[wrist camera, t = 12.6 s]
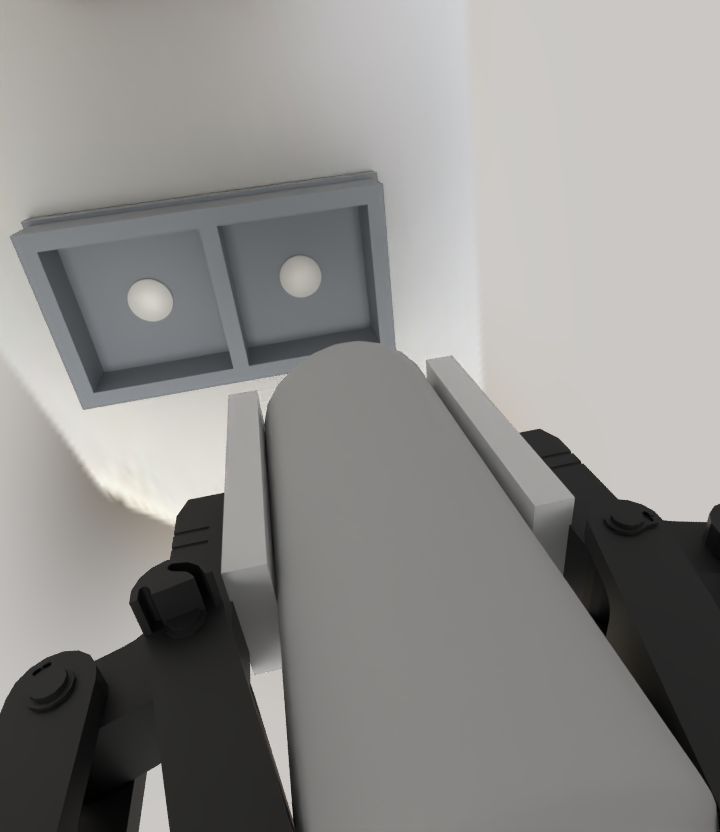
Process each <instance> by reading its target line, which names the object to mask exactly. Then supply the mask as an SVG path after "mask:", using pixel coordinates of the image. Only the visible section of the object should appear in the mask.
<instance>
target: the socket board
mask: <svg viewBox="0 0 720 832" xmlns="http://www.w3.org/2000/svg"><path fill="white" fill-rule="evenodd" d="M21 224H22V226H23V229H22V230H20V231H19V232H17V233H15V234H13V235H11V236H10V238H11V240H12V243H13V245H14V247H15V250H16V252H17V255H18V257H19V259H20V262H21V264H22V266H23V269H24V271H25V274H26V276H27V278H28V281H29V283H30V285H31V288H32V290H33V292H34V295H35V297H36V300H37V302H38V304H39V307H40V309H41V311H42V314H43V316H44V319H45V321H46V323H47V326H48V328H49V330H50V333H51V335H52V337H53V340H54V342H55V345H56V347H57V349H58V352H59V354H60V356H61V359H62V361H63V364H64V366H65V368H66V371H67V373H68V375H69V378H70V380H71V382H72V385H73V387H74V390H75V392H76V394H77V397H78V399H79V401H80V404H81V406H82V409H83V410H85V409H91V408H96V407H102V406H108V405H113V404H119V403H124V402H130V401H136V400H141V399H147V398H152V397H158V396H164V395H169V394H175V393H181V392H186V391H192V390H197V389H203V388H209V387H214V386H220V385H226V384H231V383H237V382H242V381H248V380H254V379H259V378H265V377H271V376H276V375H282V374H287V373H290V372H291V371H292V369H293V368H294V367H296V366H297V365H298V364H300V363H301V362H303V361H304V360H305V359H307V358H308V357H309V356H311V355H312V354H314V353H316V352H318V351H321V350H323V349H325V348H328V347H330V346H332V345H335V344H340V343H347V342H354V341H364V342H372V343H380V344H383V345H385V346H388V347H390V348H393V349H395V350H396V347H395V334H394V321H393V309H392V296H391V283H390V270H389V257H388V244H387V231H386V218H385V206H384V193H383V183H381V182H379V181H378V179H377V173H376V172H374V171H369V172H361V173H354V174H347V175H340V176H333V177H325V178H318V179H311V180H304V181H296V182H289V183H282V184H275V185H267V186H260V187H253V188H246V189H238V190H231V191H224V192H217V193H210V194H202V195H195V196H188V197H181V198H173V199H166V200H159V201H152V202H144V203H137V204H130V205H123V206H115V207H108V208H101V209H94V210H87V211H79V212H72V213H65V214H58V215H50V216H43V217H36V218H29V219H26V220H24V221H22V222H21Z"/></svg>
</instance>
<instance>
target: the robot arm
mask: <svg viewBox="0 0 720 832" xmlns="http://www.w3.org/2000/svg"><path fill="white" fill-rule="evenodd" d="M426 369H427V380H428V382H429V383H430V384H431V386H432V387H433V389H434V390H435V392H436V393H437V395H438V396H439V397H440V399H441V400H442V402H443V403H444V405H445V406H446V408H447V409H448V411H449V412H450V413H451V415H452V416H453V418H454V419H455V421H456V422H457V424H458V425H459V427H460V428H461V429H462V431H463V432H464V434H465V435H466V437H467V438H468V440H469V441H470V442H471V444H472V445H473V447H474V448H475V450H476V451H477V453H478V454H479V456H480V457H481V458H482V460H483V461H484V463H485V464H486V466H487V467H488V469H489V470H490V471H491V473H492V474H493V476H494V477H495V479H496V480H497V482H498V483H499V484H500V486H501V487H502V489H503V490H504V492H505V493H506V495H507V496H508V497H509V499H510V500H511V502H512V503H513V505H514V506H515V508H516V509H517V510H518V512H519V513H520V515H521V516H522V518H523V519H524V521H525V522H526V523H527V525H528V526H529V528H530V529H531V531H532V532H533V533H534V535H535V536H536V538H537V539H538V541H539V542H540V544H541V545H542V546H543V548H544V549H545V551H546V552H547V554H548V555H549V557H550V558H551V559H552V561H553V562H554V564H555V565H556V567H557V568H558V570H559V571H560V572H561V574H562V575H563V577H564V578H565V580H566V581H567V583H568V584H569V585H570V587H571V588H572V590H573V591H574V593H575V594H576V595H577V597H578V598H579V600H580V601H581V603H582V604H583V606H584V607H585V608H586V610H587V611H588V613H589V614H590V616H591V617H592V619H593V620H594V621H595V623H596V624H597V626H598V627H599V629H600V630H601V632H602V633H603V634H604V636H605V637H606V639H607V640H608V642H609V643H610V645H611V646H612V648H613V649H614V650H615V652H616V653H617V655H618V656H619V658H620V659H621V661H622V662H623V663H624V665H625V666H626V668H627V669H628V671H629V672H630V674H631V675H632V676H633V678H634V679H635V681H636V682H637V684H638V685H639V687H640V688H641V689H642V691H643V692H644V694H645V695H646V697H647V698H648V700H649V701H650V703H651V704H652V705H653V707H654V708H655V710H656V711H657V713H658V714H659V716H660V717H661V718H662V720H663V721H664V723H665V724H666V726H667V727H668V729H669V730H670V731H671V733H672V734H673V736H674V737H675V739H676V740H677V742H678V743H679V745H680V746H681V747H682V749H683V750H684V752H685V753H686V755H687V756H688V758H689V759H690V760H691V762H692V763H693V765H694V766H695V768H696V769H697V771H698V772H699V774H700V775H701V777H702V778H703V780H704V781H705V783H706V785H707V786H708V788H709V789H710V791H711V793H712V795H713V797H714V800H715V802H716V805H717V812H718V821H719V832H720V504H718V505H716V506H714V508H713V509H712V511H711V512H710V514H709V518H708V521H707V522H676V521H664V520H662V519H661V518H660V517H659V516H658V515H657V514H656V513H655V512H654V511H653V510H651V509H649V508H647V507H645V506H644V505H642V504H638V503H635V502H632V501H629V500H618V499H617V498H616V497H615V496H614V495H613V494H612V493H611V492H610V491H609V490H608V489H607V488H606V486H604V484H603V483H602V482H600V480H599V479H598V478H597V477H596V476H595V475H594V474H593V473H592V472H591V471H590V470H589V469H588V468H587V467H586V466H585V465H584V464H581V461H580V460H579V459H578V458H577V457H576V456H575V455H574V454H571V451H570V450H569V449H568V447H567V446H566V445H564V443H563V442H562V441H561V440H560V439H559V438H557V437H555V436H553V435H551V434H549V433H547V432H545V431H543V430H541V429H537V430H531V431H526V432H521V433H519V432H518V431H517V430H516V429H515V428H514V427H513V425H512V424H511V423H510V422H509V421H508V420H507V419H506V417H505V416H504V415H503V414H502V413H501V412H500V410H499V409H498V408H497V407H496V406H495V405H494V404H493V402H492V401H491V400H490V399H489V398H488V397H487V395H486V394H485V393H484V392H483V391H482V390H481V389H480V387H479V386H478V385H477V384H476V383H475V382H474V380H473V379H472V378H471V377H470V376H469V375H468V374H467V372H466V371H465V370H464V369H463V368H462V367H461V365H460V364H459V363H458V362H457V361H456V360H455V359H454V357H453V356H447V357H441V358H435V359H430V360H426ZM174 535H175V537H173V543H172V551H171V557H170V560H167V561H164V562H162V563H161V564H159V565H157V566H155V567H153V568H151V569H150V570H149V571H148V572H146V573H145V574H144V575H143V576H142V577H141V578H140V579H139V580H138V582H137V583H136V585H135V586H134V587H133V589H132V591H131V595H130V602H129V604H130V606H131V608H132V610H133V612H134V615H135V617H136V619H137V621H138V623H139V625H140V627H141V629H142V632H143V634H142V635H141V636H140V637H138V638H137V639H136V640H134V641H133V642H131V643H129V644H127V645H126V646H125V647H122V648H120V649H118V650H116V651H114V652H112V653H110V654H108V655H106V656H104V657H102V658H100V659H98V660H96V661H94V660H93V659H92V657H91V656H90V655H89V654H86V653H84V652H81V651H64V652H61V653H58V654H55V655H53V656H50V657H47V658H46V659H44V660H42V661H41V662H39V663H38V664H36V665H35V666H33V667H32V668H30V669H29V670H28V671H27V672H26V673H25V674H24V675H23V676H22V677H21V678H20V679H19V680H18V681H17V682H16V683H15V685H14V687H13V688H12V690H11V692H10V693H9V695H8V697H7V698H6V700H5V703H4V705H3V708H2V710H1V713H0V832H138V831H139V823H140V817H141V809H142V803H143V796H144V789H145V781H146V775H147V771H149V770H150V769H152V768H154V767H155V766H157V765H159V764H160V763H161V765H162V773H163V780H164V788H165V796H166V804H167V812H168V819H169V827H170V832H294V823H293V818H292V815H291V812H290V809H289V806H288V802H287V799H286V796H285V792H284V789H283V786H282V783H281V780H280V776H279V773H278V770H277V767H276V764H275V760H274V757H273V754H272V750H271V747H270V744H269V741H268V738H267V735H266V731H265V728H264V725H263V721H262V718H261V715H260V712H259V708H258V705H257V702H256V699H255V696H254V692H253V690H252V687H251V684H250V663H251V666H252V670H253V672H254V675H256V674H261V673H265V672H269V671H274V670H278V669H282V659H281V645H280V632H279V618H278V604H277V591H276V577H275V563H274V550H273V536H272V522H271V509H270V495H269V481H268V468H267V454H266V440H265V427H264V420H263V416H262V412H261V407H260V403H259V398H258V394H257V390H256V391H250V392H245V393H239V394H234V395H229V399H228V422H227V445H226V468H225V492H224V493H221V494H216V495H210V496H205V497H200V498H195V499H190V500H188V501H187V503H186V504H185V505H184V507H183V508H182V510H181V511H180V513H179V514H178V515H177V518H176V524H175V531H174Z"/></svg>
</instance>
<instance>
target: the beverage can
mask: <svg viewBox="0 0 720 832" xmlns="http://www.w3.org/2000/svg"><path fill="white" fill-rule="evenodd" d="M264 427H265V440H266V454H267V468H268V481H269V495H270V509H271V522H272V536H273V550H274V563H275V577H276V591H277V604H278V618H279V632H280V645H281V659H282V673H283V685H284V700H285V713H286V726H287V741H288V755H289V768H290V781H291V795H292V809H293V823H294V832H719V821H718V812H717V805H716V802H715V800H714V797H713V795H712V793H711V791H710V789H709V788H708V786H707V785H706V783H705V781H704V780H703V778H702V777H701V775H700V774H699V772H698V771H697V769H696V768H695V766H694V765H693V763H692V762H691V760H690V759H689V758H688V756H687V755H686V753H685V752H684V750H683V749H682V747H681V746H680V745H679V743H678V742H677V740H676V739H675V737H674V736H673V734H672V733H671V731H670V730H669V729H668V727H667V726H666V724H665V723H664V721H663V720H662V718H661V717H660V716H659V714H658V713H657V711H656V710H655V708H654V707H653V705H652V704H651V703H650V701H649V700H648V698H647V697H646V695H645V694H644V692H643V691H642V689H641V688H640V687H639V685H638V684H637V682H636V681H635V679H634V678H633V676H632V675H631V674H630V672H629V671H628V669H627V668H626V666H625V665H624V663H623V662H622V661H621V659H620V658H619V656H618V655H617V653H616V652H615V650H614V649H613V648H612V646H611V645H610V643H609V642H608V640H607V639H606V637H605V636H604V634H603V633H602V632H601V630H600V629H599V627H598V626H597V624H596V623H595V621H594V620H593V619H592V617H591V616H590V614H589V613H588V611H587V610H586V608H585V607H584V606H583V604H582V603H581V601H580V600H579V598H578V597H577V595H576V594H575V593H574V591H573V590H572V588H571V587H570V585H569V584H568V583H567V581H566V580H565V578H564V577H563V575H562V574H561V572H560V571H559V570H558V568H557V567H556V565H555V564H554V562H553V561H552V559H551V558H550V557H549V555H548V554H547V552H546V551H545V549H544V548H543V546H542V545H541V544H540V542H539V541H538V539H537V538H536V536H535V535H534V533H533V532H532V531H531V529H530V528H529V526H528V525H527V523H526V522H525V521H524V519H523V518H522V516H521V515H520V513H519V512H518V510H517V509H516V508H515V506H514V505H513V503H512V502H511V500H510V499H509V497H508V496H507V495H506V493H505V492H504V490H503V489H502V487H501V486H500V484H499V483H498V482H497V480H496V479H495V477H494V476H493V474H492V473H491V471H490V470H489V469H488V467H487V466H486V464H485V463H484V461H483V460H482V458H481V457H480V456H479V454H478V453H477V451H476V450H475V448H474V447H473V445H472V444H471V442H470V441H469V440H468V438H467V437H466V435H465V434H464V432H463V431H462V429H461V428H460V427H459V425H458V424H457V422H456V421H455V419H454V418H453V416H452V415H451V413H450V412H449V411H448V409H447V408H446V406H445V405H444V403H443V402H442V400H441V399H440V397H439V396H438V395H437V393H436V392H435V390H434V389H433V387H432V386H431V384H430V383H429V382H428V380H427V379H426V377H425V376H424V374H423V373H422V371H421V370H420V368H419V367H418V366H417V364H415V363H414V362H413V361H412V360H410V359H409V358H408V357H407V356H405V355H404V354H403V353H402V352H400V351H397V350H395V349H393V348H390V347H388V346H385V345H383V344H380V343H372V342H364V341H354V342H347V343H340V344H335V345H332V346H330V347H328V348H325V349H323V350H321V351H318V352H316V353H314V354H312V355H311V356H309V357H308V358H307V359H305V360H304V361H303V362H301V363H300V364H298V365H297V366H296V367H294V368H293V369H292V371H291V372H290V373H289V374H288V375H287V376H286V377H285V378H284V379H283V380H282V381H281V382H280V383H279V385H278V387H277V388H276V390H275V392H274V394H273V396H272V398H271V399H270V401H269V403H268V405H267V412H266V418H265V424H264Z"/></svg>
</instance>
